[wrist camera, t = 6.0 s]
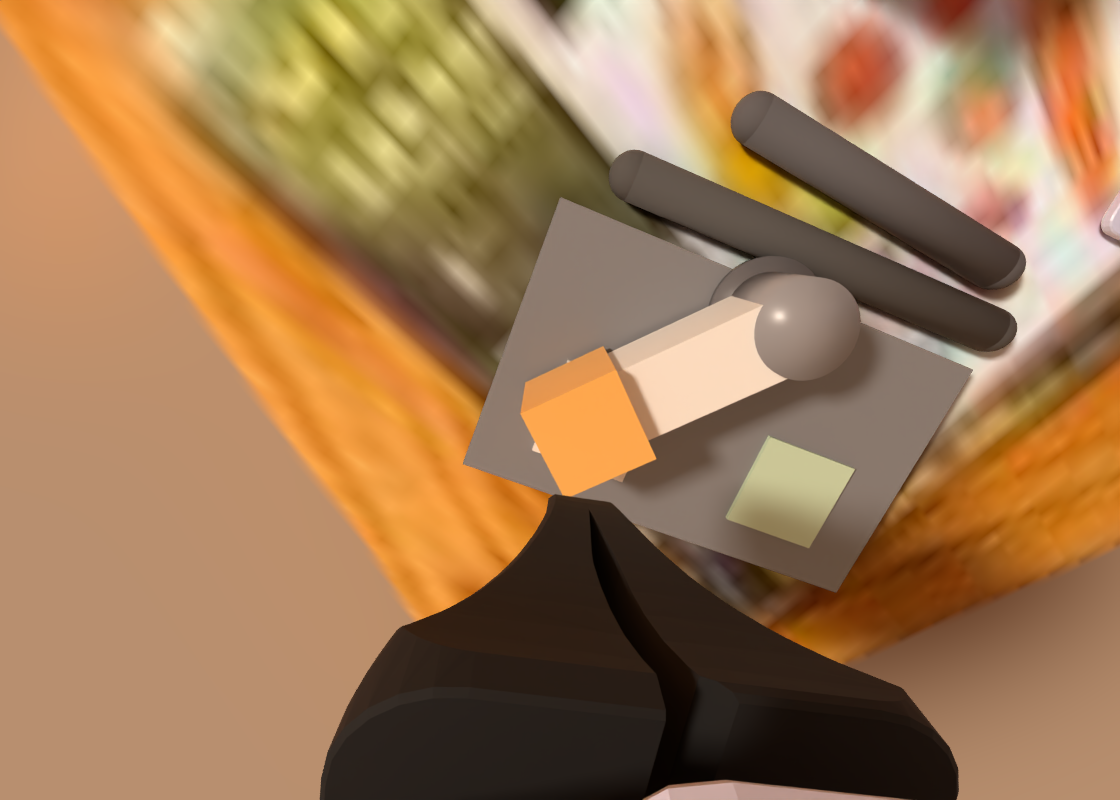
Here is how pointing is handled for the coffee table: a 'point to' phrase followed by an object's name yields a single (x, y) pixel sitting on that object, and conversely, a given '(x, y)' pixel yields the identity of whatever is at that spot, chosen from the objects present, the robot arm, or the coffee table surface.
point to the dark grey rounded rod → (875, 191)
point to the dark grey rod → (808, 250)
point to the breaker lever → (685, 374)
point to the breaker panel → (728, 433)
